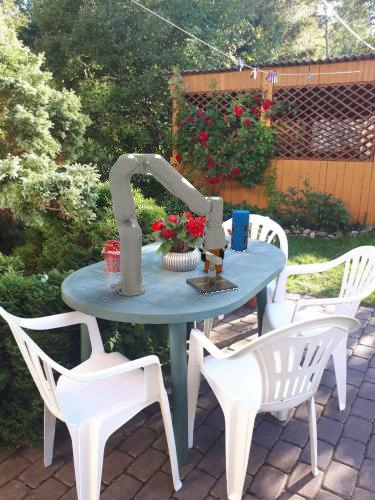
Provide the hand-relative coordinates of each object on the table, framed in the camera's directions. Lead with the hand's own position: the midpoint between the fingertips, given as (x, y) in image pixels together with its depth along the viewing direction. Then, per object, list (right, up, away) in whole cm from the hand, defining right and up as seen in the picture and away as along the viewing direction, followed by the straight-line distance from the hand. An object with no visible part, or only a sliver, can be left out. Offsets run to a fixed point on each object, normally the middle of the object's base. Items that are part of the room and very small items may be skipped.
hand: (212, 260), depth 174 cm
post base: (0, -12, +3) cm, 13 cm away
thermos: (+22, +5, +68) cm, 71 cm away
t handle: (0, -4, +2) cm, 4 cm away
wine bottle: (+2, -7, +25) cm, 26 cm away
